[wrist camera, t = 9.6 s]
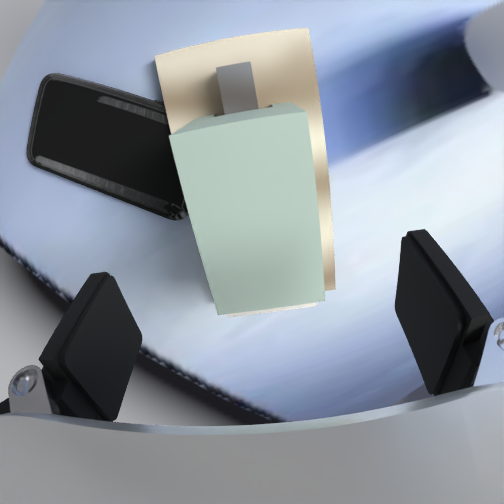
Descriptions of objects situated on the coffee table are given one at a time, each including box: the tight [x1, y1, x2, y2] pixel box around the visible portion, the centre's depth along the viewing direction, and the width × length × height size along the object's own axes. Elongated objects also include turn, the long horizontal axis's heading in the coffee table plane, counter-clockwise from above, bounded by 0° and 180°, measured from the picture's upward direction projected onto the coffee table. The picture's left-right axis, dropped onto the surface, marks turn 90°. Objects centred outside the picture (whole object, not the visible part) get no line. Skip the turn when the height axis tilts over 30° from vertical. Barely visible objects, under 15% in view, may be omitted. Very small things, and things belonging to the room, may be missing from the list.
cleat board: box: [155, 28, 335, 291], centre depth 22 cm, size 20×10×3 cm, turn 10°
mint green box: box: [169, 102, 325, 317], centre depth 19 cm, size 11×6×8 cm, turn 10°
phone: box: [27, 73, 188, 220], centre depth 21 cm, size 8×1×15 cm
